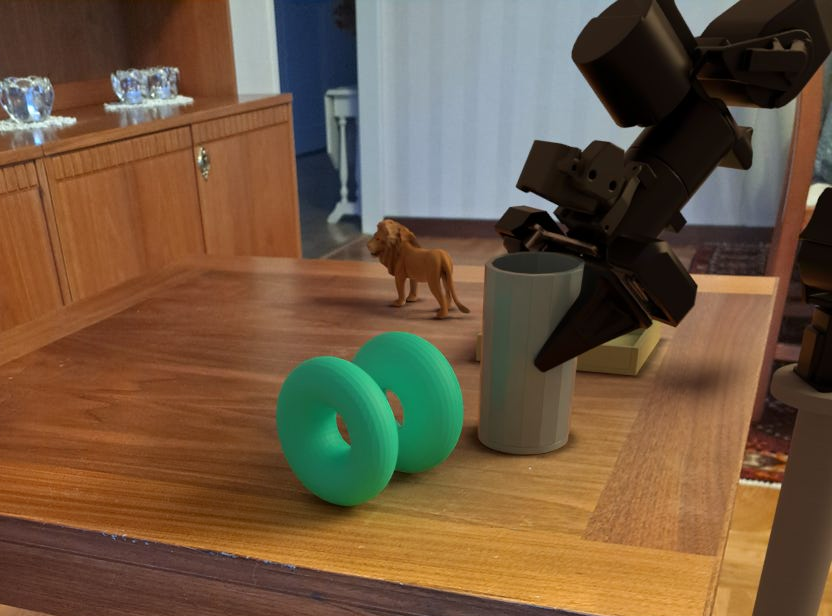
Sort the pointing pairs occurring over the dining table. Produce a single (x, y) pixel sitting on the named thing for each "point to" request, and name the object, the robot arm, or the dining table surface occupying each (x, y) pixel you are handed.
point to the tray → (615, 352)
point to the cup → (525, 351)
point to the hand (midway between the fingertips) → (511, 355)
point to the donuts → (368, 417)
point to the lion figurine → (414, 265)
